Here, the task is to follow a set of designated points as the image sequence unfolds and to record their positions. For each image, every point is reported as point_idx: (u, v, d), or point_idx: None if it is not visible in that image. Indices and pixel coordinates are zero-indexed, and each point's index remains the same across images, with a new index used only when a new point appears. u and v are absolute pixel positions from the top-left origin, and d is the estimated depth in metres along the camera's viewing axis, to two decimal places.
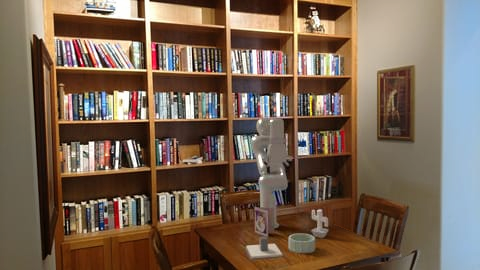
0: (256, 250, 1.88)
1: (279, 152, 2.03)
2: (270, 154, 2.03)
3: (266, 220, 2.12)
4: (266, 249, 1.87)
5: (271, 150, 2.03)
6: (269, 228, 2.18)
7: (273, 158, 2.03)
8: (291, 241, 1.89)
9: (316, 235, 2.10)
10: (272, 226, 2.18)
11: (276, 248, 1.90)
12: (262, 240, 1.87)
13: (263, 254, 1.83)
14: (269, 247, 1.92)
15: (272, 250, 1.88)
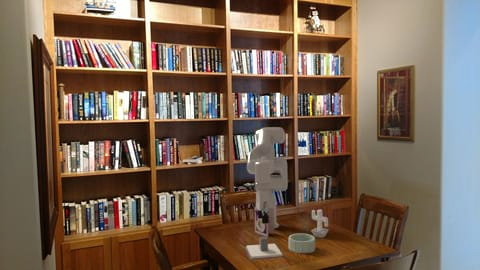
0: (256, 250, 1.88)
1: None
2: (268, 201, 1.83)
3: None
4: (266, 249, 1.87)
5: (268, 196, 1.84)
6: (269, 228, 2.18)
7: None
8: (291, 241, 1.89)
9: (316, 235, 2.10)
10: (272, 226, 2.18)
11: (276, 248, 1.90)
12: (262, 240, 1.87)
13: (263, 254, 1.83)
14: (269, 247, 1.92)
15: (272, 250, 1.88)
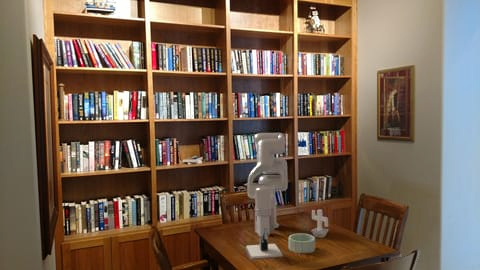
0: (256, 250, 1.88)
1: None
2: None
3: None
4: None
5: None
6: None
7: None
8: (291, 241, 1.89)
9: (316, 235, 2.10)
10: (272, 226, 2.18)
11: (276, 248, 1.90)
12: None
13: (263, 254, 1.83)
14: (269, 247, 1.92)
15: (272, 250, 1.88)
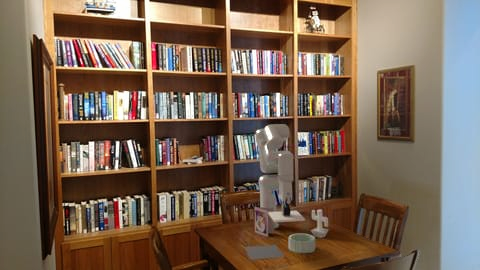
0: (278, 215, 1.89)
1: None
2: None
3: (266, 220, 2.12)
4: None
5: (291, 187, 1.86)
6: (269, 228, 2.18)
7: None
8: (291, 241, 1.89)
9: (316, 235, 2.10)
10: (272, 226, 2.18)
11: (298, 214, 1.91)
12: None
13: (286, 218, 1.84)
14: (291, 213, 1.93)
15: (294, 215, 1.89)
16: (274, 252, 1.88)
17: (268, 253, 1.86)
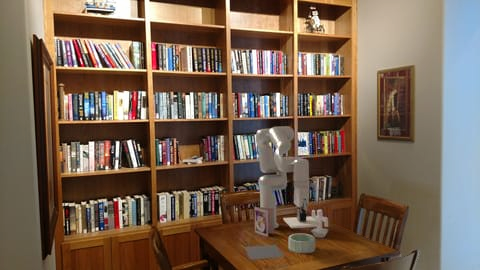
0: (294, 221, 1.91)
1: None
2: None
3: (266, 220, 2.12)
4: None
5: (307, 193, 1.88)
6: (269, 228, 2.18)
7: None
8: (291, 241, 1.89)
9: (316, 235, 2.10)
10: (272, 226, 2.18)
11: (314, 220, 1.93)
12: None
13: (302, 224, 1.85)
14: (306, 219, 1.95)
15: (310, 221, 1.91)
16: (274, 252, 1.88)
17: (268, 253, 1.86)
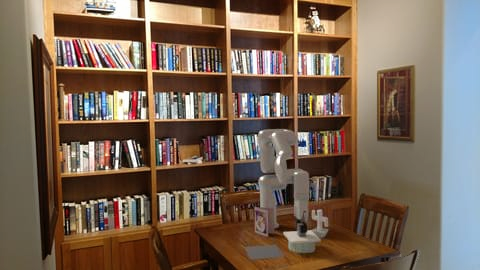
0: (294, 236, 1.92)
1: None
2: None
3: (266, 220, 2.12)
4: (304, 235, 1.91)
5: (307, 205, 1.88)
6: (269, 228, 2.18)
7: None
8: None
9: None
10: (272, 226, 2.18)
11: (313, 234, 1.94)
12: (300, 226, 1.90)
13: (302, 239, 1.86)
14: (306, 233, 1.95)
15: (310, 236, 1.91)
16: (274, 252, 1.88)
17: (268, 253, 1.86)
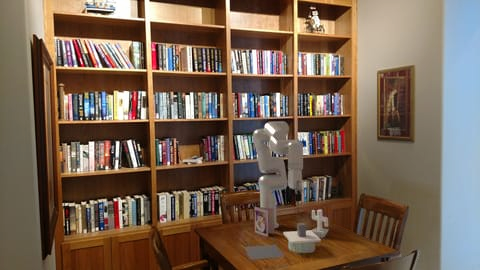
0: (294, 236, 1.92)
1: None
2: (301, 180, 1.90)
3: (266, 220, 2.12)
4: (304, 235, 1.91)
5: (301, 175, 1.90)
6: (269, 228, 2.18)
7: None
8: None
9: None
10: (272, 226, 2.18)
11: (313, 234, 1.94)
12: (300, 226, 1.90)
13: (302, 239, 1.86)
14: (306, 233, 1.95)
15: (310, 236, 1.91)
16: (274, 252, 1.88)
17: (268, 253, 1.86)
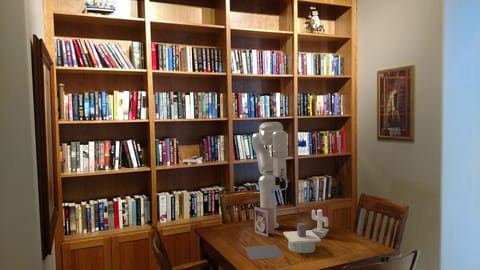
0: (294, 236, 1.92)
1: None
2: None
3: (266, 220, 2.12)
4: (304, 235, 1.91)
5: (285, 163, 1.97)
6: (269, 228, 2.18)
7: None
8: None
9: None
10: (272, 226, 2.18)
11: (313, 234, 1.94)
12: (300, 226, 1.90)
13: (302, 239, 1.86)
14: (306, 233, 1.95)
15: (310, 236, 1.91)
16: (274, 252, 1.88)
17: (268, 253, 1.86)
